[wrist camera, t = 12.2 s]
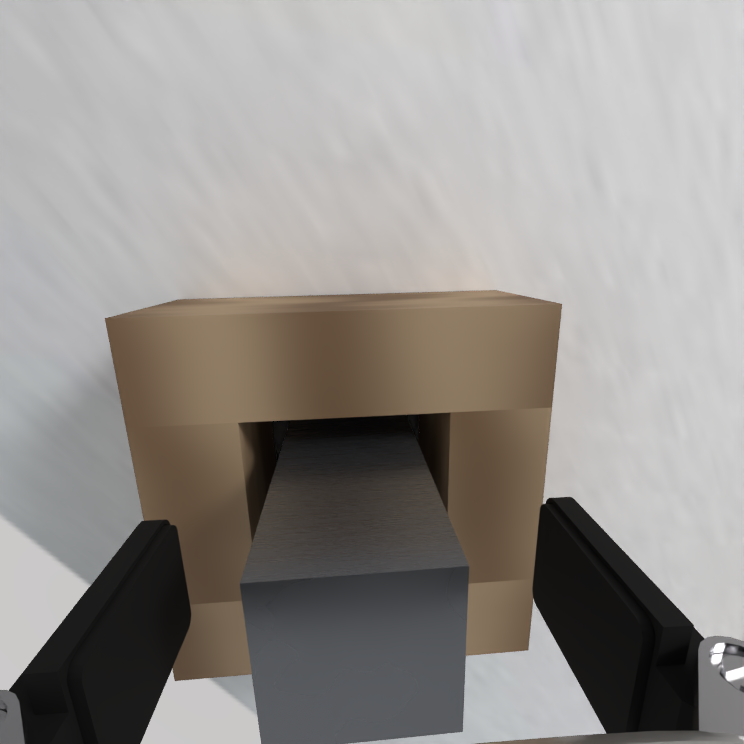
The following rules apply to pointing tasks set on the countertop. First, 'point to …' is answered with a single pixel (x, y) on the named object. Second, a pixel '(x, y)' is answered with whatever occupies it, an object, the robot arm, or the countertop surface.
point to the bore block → (339, 400)
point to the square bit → (355, 590)
